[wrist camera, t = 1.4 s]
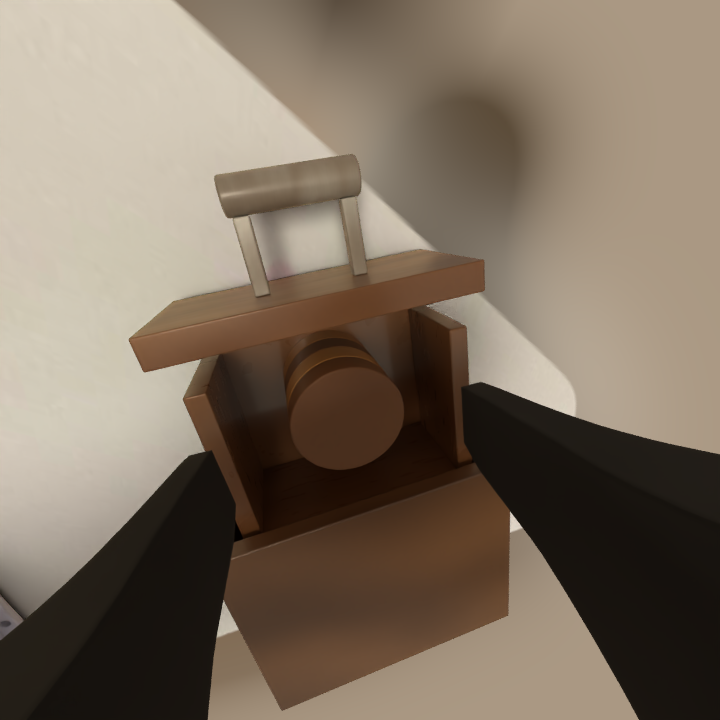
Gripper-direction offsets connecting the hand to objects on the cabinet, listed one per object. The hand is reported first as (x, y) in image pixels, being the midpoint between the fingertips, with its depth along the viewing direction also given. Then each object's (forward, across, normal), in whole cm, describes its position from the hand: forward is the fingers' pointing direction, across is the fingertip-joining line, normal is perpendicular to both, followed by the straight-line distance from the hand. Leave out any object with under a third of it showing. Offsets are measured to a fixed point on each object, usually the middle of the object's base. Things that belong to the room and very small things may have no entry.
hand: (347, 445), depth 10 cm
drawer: (+9, 0, 0) cm, 9 cm away
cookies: (+8, 0, +2) cm, 8 cm away
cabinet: (+10, 0, +12) cm, 15 cm away
